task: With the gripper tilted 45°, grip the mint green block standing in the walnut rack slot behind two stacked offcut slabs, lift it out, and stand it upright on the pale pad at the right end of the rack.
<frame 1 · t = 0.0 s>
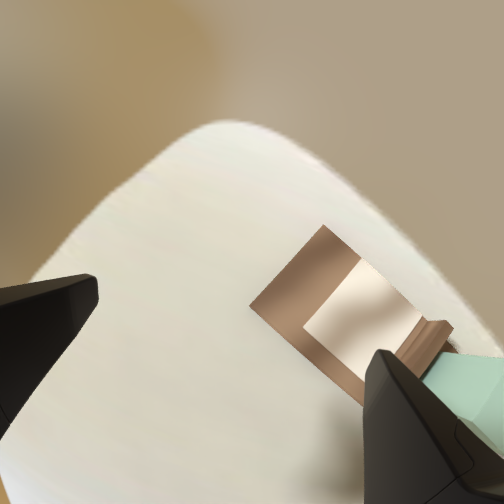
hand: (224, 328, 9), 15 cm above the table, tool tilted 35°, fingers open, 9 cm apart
mint green block: (436, 387, 20), point 1 cm above the table, touching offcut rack
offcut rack: (431, 386, 21), on the table
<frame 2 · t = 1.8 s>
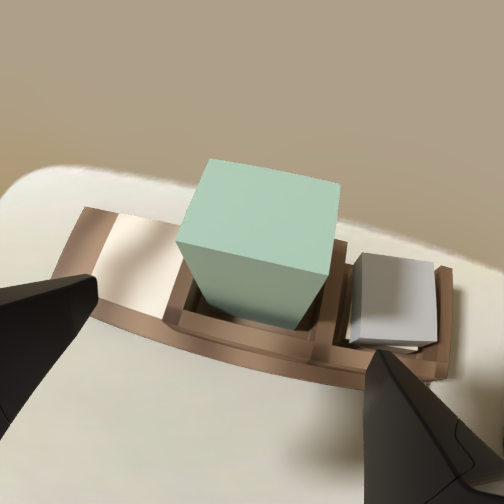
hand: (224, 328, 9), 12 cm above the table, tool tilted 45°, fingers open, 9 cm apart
birch offcut slab: (377, 314, 19), point 1 cm above the table, touching grey offcut slab, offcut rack
mint green block: (259, 292, 20), point 1 cm above the table, touching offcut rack
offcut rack: (259, 297, 21), on the table
grey offcut slab: (388, 306, 18), point 3 cm above the table, touching birch offcut slab
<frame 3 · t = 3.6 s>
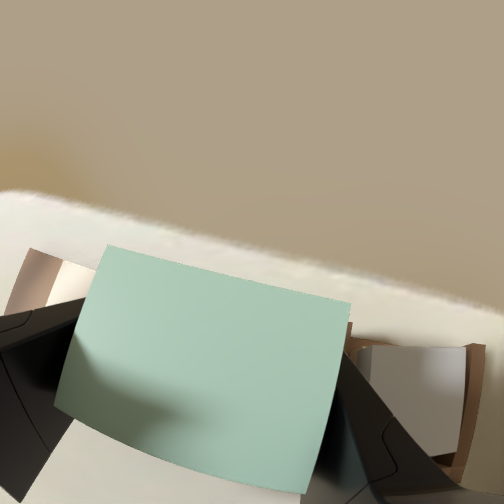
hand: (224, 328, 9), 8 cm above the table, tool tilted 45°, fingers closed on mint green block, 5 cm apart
mint green block: (231, 378, 14), point 1 cm above the table, touching gripper, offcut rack
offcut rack: (232, 379, 15), on the table
grey offcut slab: (400, 403, 12), point 3 cm above the table, touching birch offcut slab
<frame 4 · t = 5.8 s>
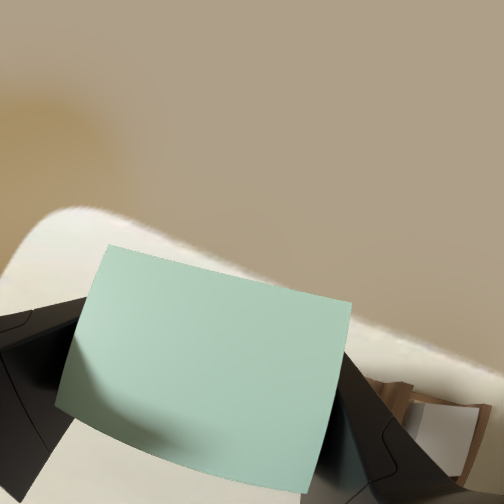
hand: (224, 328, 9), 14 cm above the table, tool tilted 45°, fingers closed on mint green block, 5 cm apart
mint green block: (231, 378, 14), point 6 cm above the table, touching gripper
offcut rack: (317, 412, 19), on the table
grey offcut slab: (430, 439, 15), point 3 cm above the table, touching birch offcut slab
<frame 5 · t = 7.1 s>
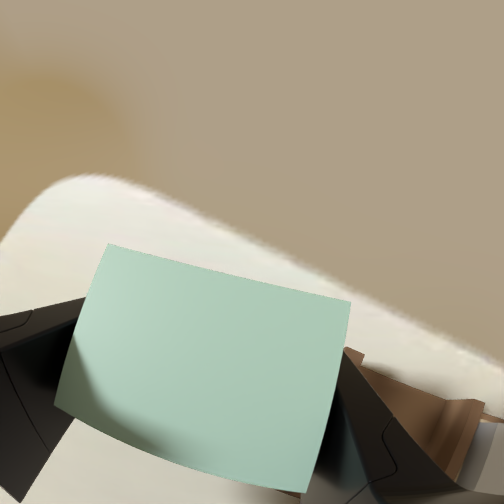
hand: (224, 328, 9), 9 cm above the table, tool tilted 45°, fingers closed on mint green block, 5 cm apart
mint green block: (231, 378, 14), point 2 cm above the table, touching gripper
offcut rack: (370, 435, 15), on the table
grey offcut slab: (489, 462, 10), point 3 cm above the table, touching birch offcut slab
when the fingers open (9 cm above the table, at t = 8.0 s): mint green block stays where it is, resting on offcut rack.
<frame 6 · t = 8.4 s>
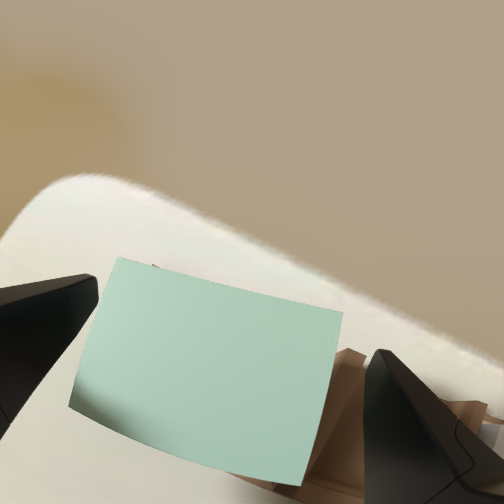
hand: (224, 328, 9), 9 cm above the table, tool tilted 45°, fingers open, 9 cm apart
mint green block: (232, 379, 15), point 1 cm above the table, touching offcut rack
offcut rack: (372, 437, 14), on the table
grey offcut slab: (491, 464, 10), point 3 cm above the table, touching birch offcut slab
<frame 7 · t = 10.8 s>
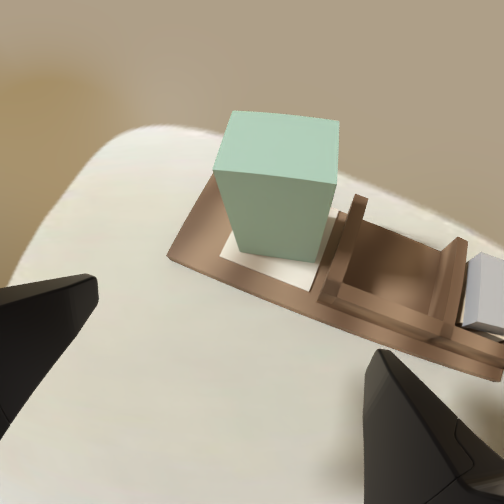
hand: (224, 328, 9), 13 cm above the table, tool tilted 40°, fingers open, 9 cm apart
birch offcut slab: (476, 306, 19), point 1 cm above the table, touching grey offcut slab, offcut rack
mint green block: (281, 232, 23), point 1 cm above the table, touching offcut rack
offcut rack: (387, 278, 22), on the table
grey offcut slab: (489, 300, 17), point 3 cm above the table, touching birch offcut slab
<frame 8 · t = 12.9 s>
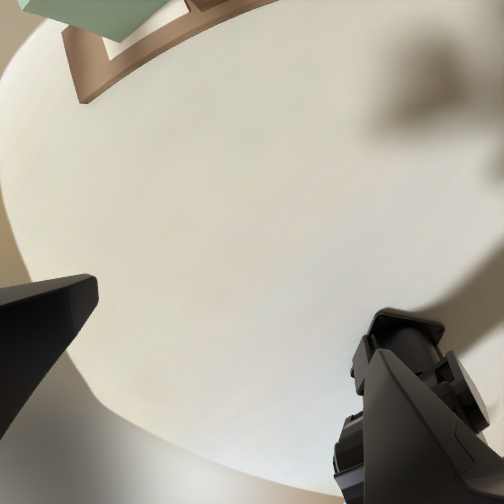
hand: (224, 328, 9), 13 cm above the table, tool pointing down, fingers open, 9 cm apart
mint green block: (135, 6, 16), point 1 cm above the table, touching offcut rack
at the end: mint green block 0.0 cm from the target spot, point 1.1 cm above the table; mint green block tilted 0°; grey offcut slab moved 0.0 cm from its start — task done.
